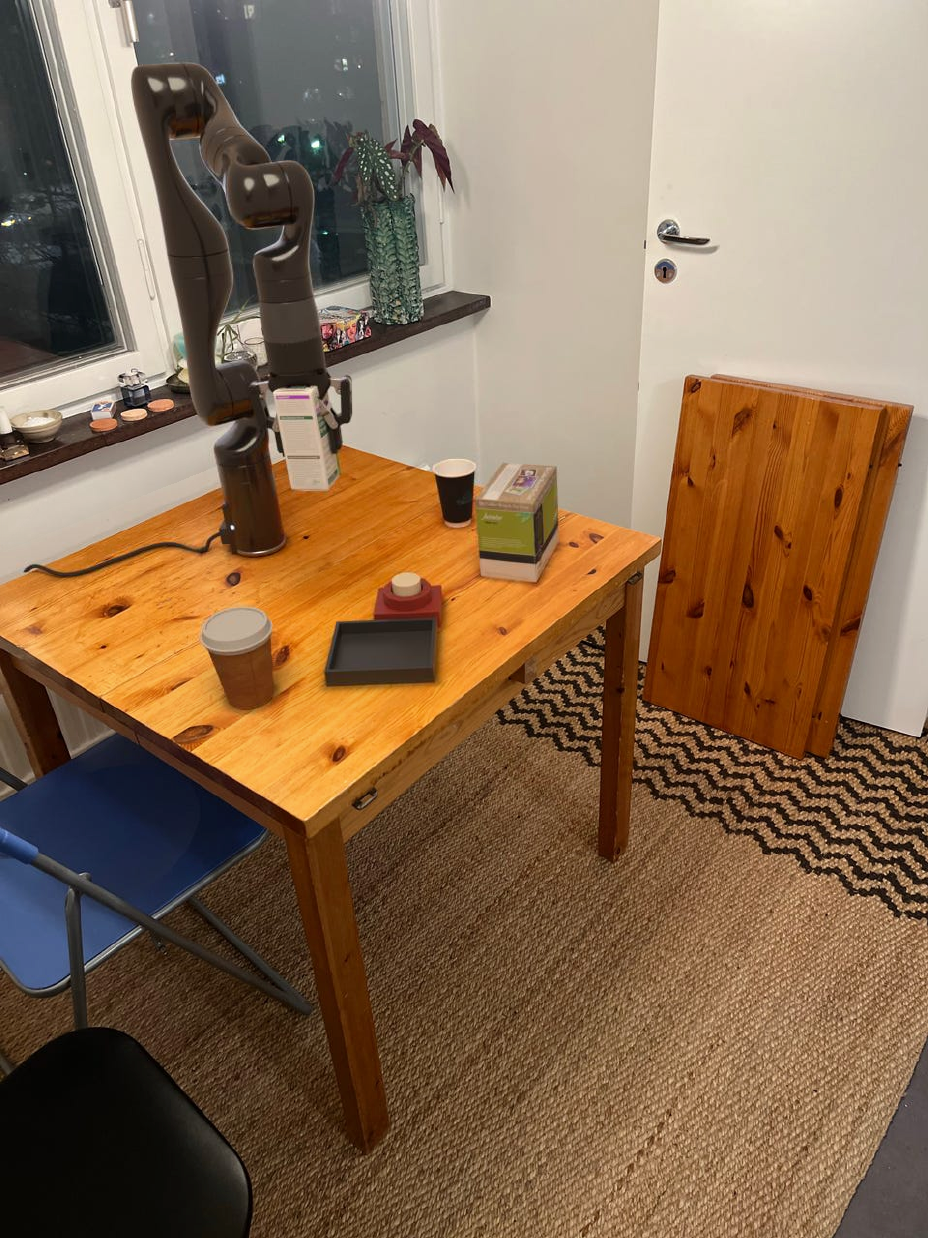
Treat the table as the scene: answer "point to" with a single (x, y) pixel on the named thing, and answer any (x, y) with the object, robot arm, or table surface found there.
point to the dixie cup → (455, 490)
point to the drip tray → (382, 652)
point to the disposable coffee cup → (241, 654)
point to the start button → (406, 584)
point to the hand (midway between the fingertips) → (311, 453)
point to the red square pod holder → (409, 603)
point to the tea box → (517, 522)
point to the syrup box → (306, 439)
